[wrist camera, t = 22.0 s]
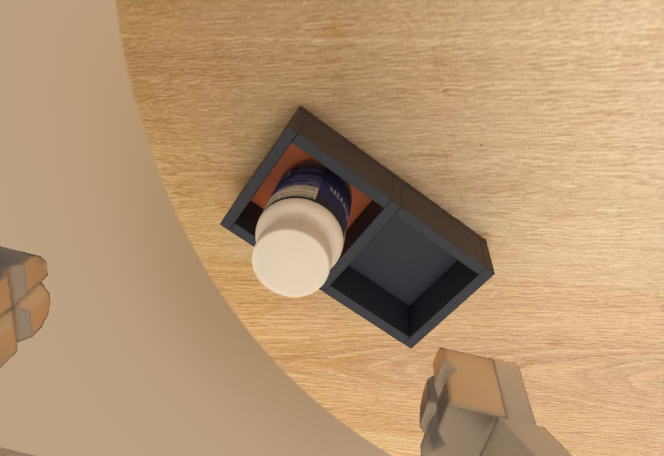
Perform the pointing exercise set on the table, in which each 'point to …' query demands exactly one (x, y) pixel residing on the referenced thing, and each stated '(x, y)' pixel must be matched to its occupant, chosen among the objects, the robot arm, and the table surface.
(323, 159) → the tray
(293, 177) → the pill bottle
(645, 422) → the table surface
